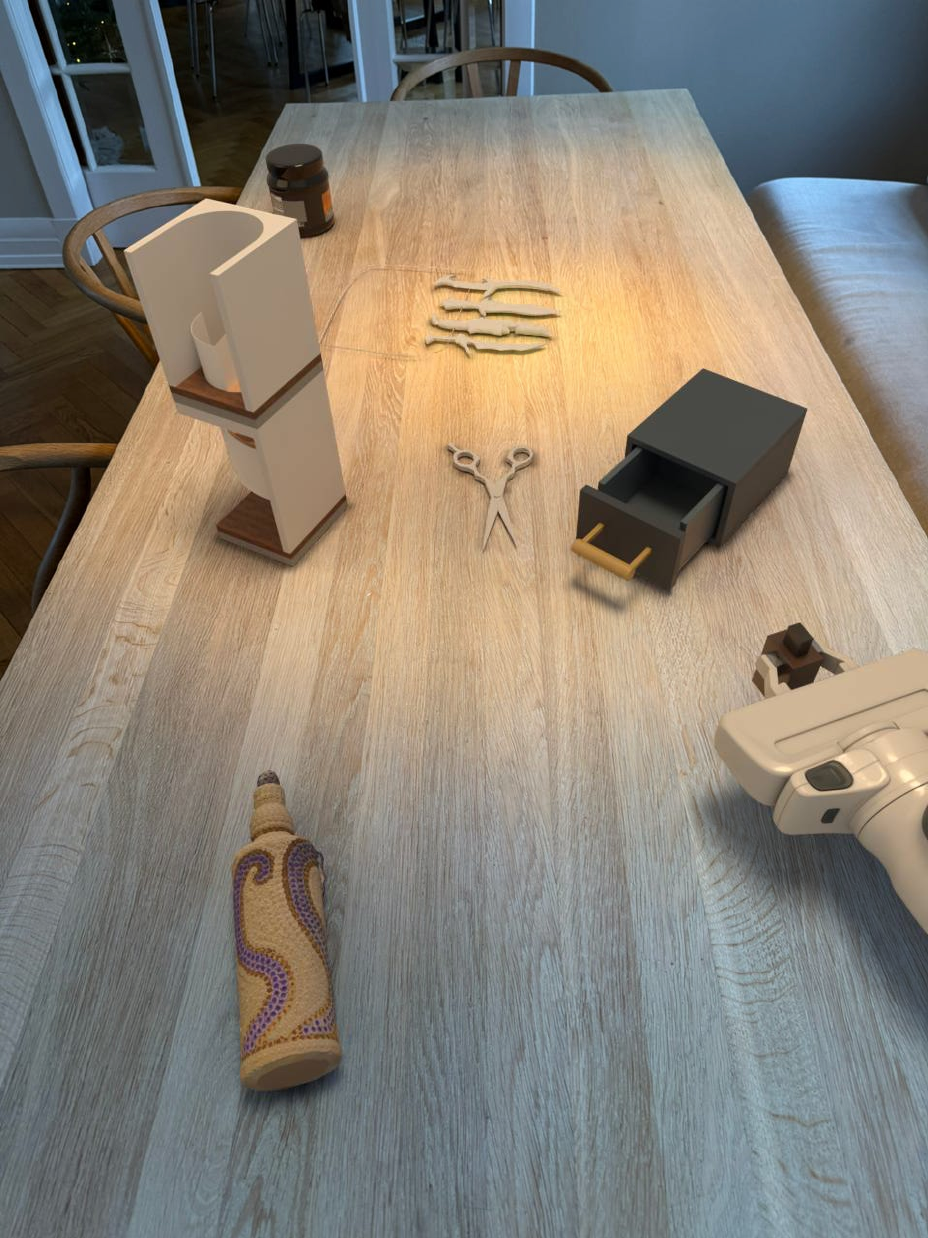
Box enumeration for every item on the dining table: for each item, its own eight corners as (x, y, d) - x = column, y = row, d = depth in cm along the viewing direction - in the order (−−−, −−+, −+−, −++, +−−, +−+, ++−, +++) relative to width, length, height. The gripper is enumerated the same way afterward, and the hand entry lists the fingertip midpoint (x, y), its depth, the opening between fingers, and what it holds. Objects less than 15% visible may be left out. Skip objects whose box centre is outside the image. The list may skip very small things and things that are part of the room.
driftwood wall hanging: (547, 371, 124) (547, 364, 123) (311, 351, 129) (310, 344, 129) (570, 280, 140) (571, 273, 139) (360, 265, 146) (359, 259, 145)
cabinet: (719, 548, 100) (736, 483, 93) (618, 499, 106) (627, 435, 99) (787, 473, 108) (807, 408, 101) (690, 432, 114) (702, 367, 107)
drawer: (644, 619, 92) (654, 567, 86) (549, 566, 98) (551, 514, 92) (740, 514, 102) (754, 461, 96) (649, 472, 108) (657, 419, 102)
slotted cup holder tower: (277, 481, 111) (206, 198, 84) (348, 506, 107) (296, 218, 81) (220, 538, 104) (123, 250, 78) (293, 566, 101) (217, 275, 74)
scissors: (530, 437, 113) (547, 545, 100) (530, 442, 114) (547, 550, 100) (448, 442, 113) (454, 550, 100) (448, 447, 114) (454, 555, 100)
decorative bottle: (352, 1076, 65) (339, 1051, 60) (250, 1100, 65) (228, 1077, 60) (318, 779, 82) (305, 740, 77) (237, 796, 81) (219, 758, 76)
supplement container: (341, 212, 159) (331, 142, 150) (327, 240, 152) (316, 168, 143) (285, 210, 161) (272, 140, 151) (268, 238, 154) (254, 166, 145)
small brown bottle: (804, 703, 79) (830, 644, 73) (775, 713, 79) (799, 654, 72) (779, 670, 82) (802, 610, 75) (751, 680, 81) (772, 620, 75)
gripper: (1012, 715, 68) (897, 593, 77) (782, 800, 64) (688, 661, 73) (979, 758, 73) (874, 639, 81) (764, 840, 69) (677, 705, 78)
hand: (784, 650), depth 77 cm, fingers closed on small brown bottle, 3 cm apart
